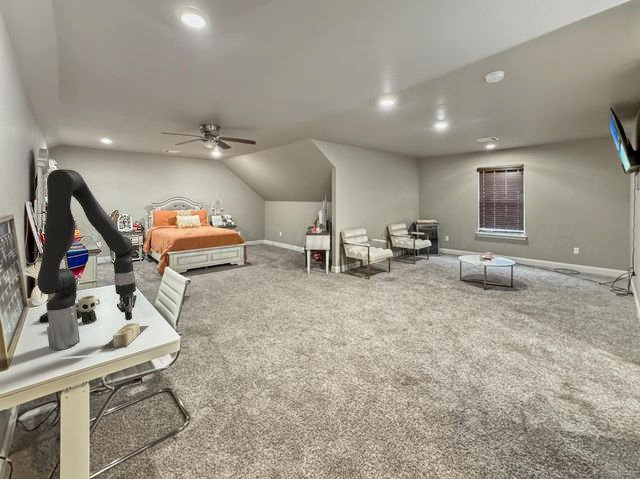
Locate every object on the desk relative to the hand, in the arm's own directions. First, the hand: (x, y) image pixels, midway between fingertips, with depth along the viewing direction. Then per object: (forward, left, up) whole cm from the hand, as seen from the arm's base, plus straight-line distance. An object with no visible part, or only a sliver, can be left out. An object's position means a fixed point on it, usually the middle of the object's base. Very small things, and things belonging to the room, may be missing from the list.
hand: (128, 319), depth 133 cm
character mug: (-31, +24, -9) cm, 40 cm away
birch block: (0, +3, -6) cm, 7 cm away
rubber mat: (-2, +1, -9) cm, 9 cm away
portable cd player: (-49, +36, -10) cm, 61 cm away
